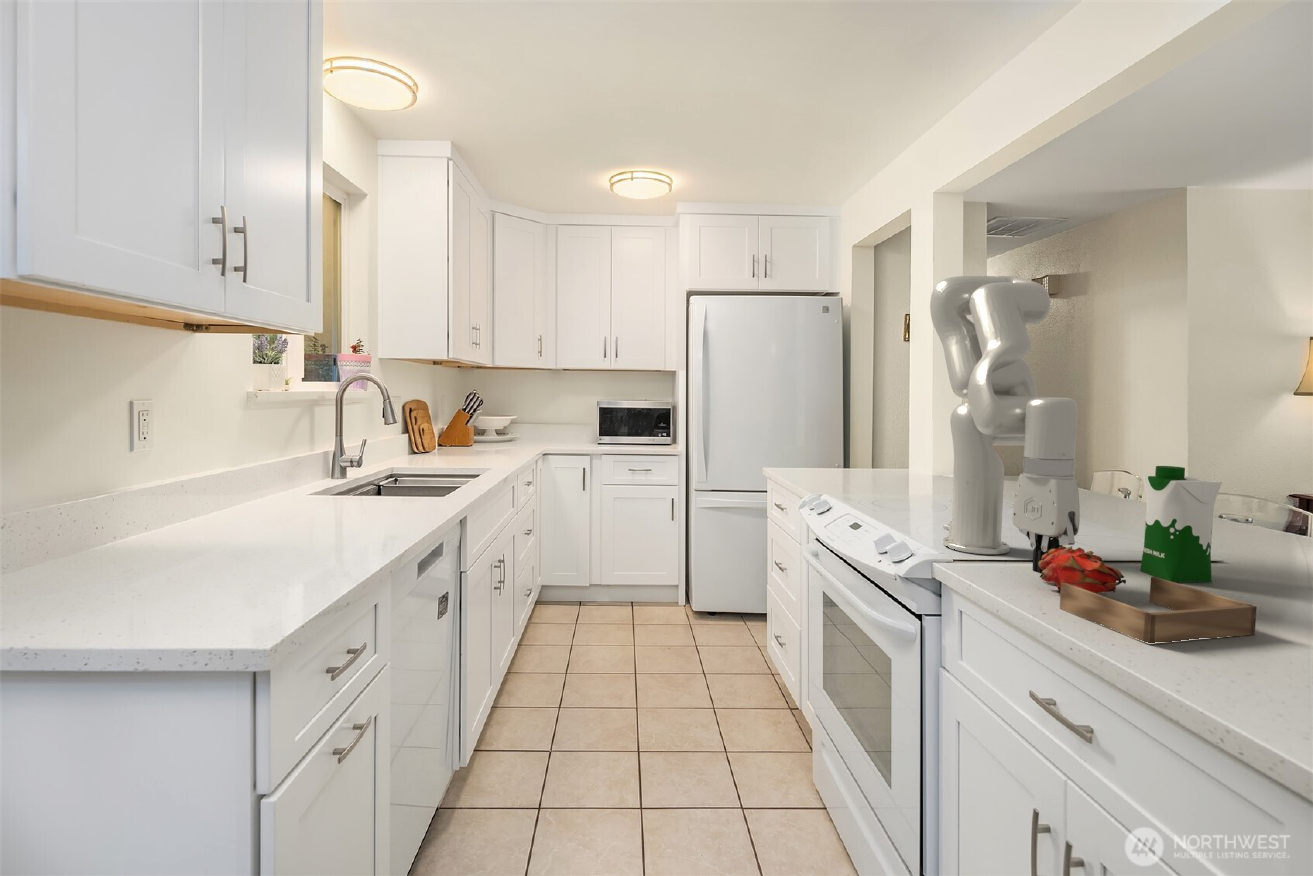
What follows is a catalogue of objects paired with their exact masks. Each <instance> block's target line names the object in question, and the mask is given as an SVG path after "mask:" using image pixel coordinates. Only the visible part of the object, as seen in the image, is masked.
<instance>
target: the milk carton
mask: <svg viewBox="0 0 1313 876" xmlns="http://www.w3.org/2000/svg"><path fill="white" fill-rule="evenodd" d="M1142 481H1143V484H1144V490H1145V496H1146V509H1145V525H1144V542H1143V551H1142V556H1141V563H1140V572H1142V573H1146V574H1147V575H1148V574H1149V575H1151V576H1152V577H1156V576H1157V577H1158V578H1161V579H1165V580H1168V581H1171V582H1175V583H1205V582H1211V583H1213V581H1212V576H1213V575H1212V558H1211V557H1212V556H1211V553H1212V552H1211V551H1212V538H1213V537H1212V536H1213V524H1214V523H1213V522H1214V510H1215V509H1214V508H1215V504H1216V503H1215V502H1216V500H1217V497H1218V494H1219V491H1220V489H1221V486H1222V481H1215V480H1210V479H1204V478H1196V477H1191V476H1186V468H1185V467H1183V466H1176V465H1175V466H1171V465H1157V466H1155V475H1143V476H1142Z"/></svg>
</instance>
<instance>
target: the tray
mask: <svg viewBox="0 0 1313 876" xmlns="http://www.w3.org/2000/svg"><path fill="white" fill-rule="evenodd" d="M1149 584H1150V585H1149V586H1150V587H1149V600H1148V601H1150V602H1149V603H1152V602H1153V603H1152V604H1155V605H1158V604H1160V605H1159V606H1161V605H1162V607H1164V608H1167V607H1169V608H1168V609H1170V608H1171V610H1167V611H1154V612H1153V611H1152V612H1149V611H1145V610H1143V609H1141V608H1138V607H1135V606H1132V605H1129V604H1128V603H1124V602H1121V601H1118V600H1116V599H1112V598H1109V597H1108V596H1104V595H1101V594H1099V593H1093V592H1090V591H1087V590H1084V589H1082V588H1079V587H1076V586H1073V585H1070V584H1068V583H1061V591H1060V598H1059V610H1062V611H1065V612H1067V613H1070V614H1072V615H1074V614H1075V616H1077V617H1079V618H1082V619H1084V618H1086V619H1085V620H1087V619H1088V620H1087V621H1089V620H1090V621H1089V622H1091V621H1093V622H1092V623H1094V622H1096V623H1098V624H1097V625H1099V624H1102V625H1104V626H1106V627H1108V628H1107V629H1109V628H1112V629H1114V630H1115V631H1114V632H1116V631H1119V632H1122V633H1123V634H1125V635H1124V636H1126V635H1129V636H1131V637H1133V638H1137V639H1139V640H1142V641H1144V642H1148V643H1155V642H1172V641H1181V640H1189V639H1199V638H1217V637H1227V636H1231V637H1230V638H1233V637H1232V636H1240V637H1244V636H1243V635H1250V636H1255V635H1256V620H1257V608H1258V606H1257V605H1252V604H1250V603H1246V602H1243V601H1239V600H1236V599H1232V598H1228V597H1225V596H1223V595H1218V594H1215V593H1212V592H1209V591H1205V590H1201V589H1198V588H1195V587H1191V586H1187V585H1185V584H1181V583H1179V582H1171V581H1168V580H1165V579H1161V578H1159V577H1156V576H1151V577H1150V583H1149ZM1096 623H1095V624H1096ZM1104 626H1103V627H1104ZM1106 627H1105V628H1106ZM1123 634H1122V635H1123ZM1131 637H1130V638H1131ZM1133 638H1132V639H1133Z"/></svg>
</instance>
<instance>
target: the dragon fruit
mask: <svg viewBox="0 0 1313 876" xmlns="http://www.w3.org/2000/svg"><path fill="white" fill-rule="evenodd" d="M1038 564H1039V567H1040V568H1041V569H1042V570H1043V571H1042V572H1041V573H1042V574H1040V575H1039V578H1040V579H1041V580H1043V581H1044V582H1045V583H1046V582H1047V583H1054V584H1055V585H1056V586H1057V589H1058V591H1059V592H1061V583H1068V584H1070V585H1073V586H1076V587H1079V588H1082V589H1084V590H1087V591H1090V592H1093V593H1096V594H1099V593H1100V594H1101V593H1103V594H1104V593H1111V592H1112V593H1114V594H1115V593H1116V591H1117V586H1119V585H1121V584H1122V583H1123V584H1124V585H1126V583H1127V580H1126V579H1124V578H1125V576H1124V575H1123V573H1122V572H1121V571H1120V569H1117V568H1115V567H1112V566H1110V565H1107V564H1105V562H1104V560H1103V558H1102V557H1101V556H1098V555H1096V554H1094V551H1093V550H1089V551H1086V552H1085V549H1084V548H1082V547H1077V548H1076V549H1073V545H1070V546H1068V547H1066V546H1065V545H1063V546H1059V549H1050V550H1049V552H1048V553H1046V554H1044V555H1043V556H1042V558H1041V560H1040V561H1039V562H1038Z"/></svg>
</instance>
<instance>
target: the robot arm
mask: <svg viewBox="0 0 1313 876" xmlns="http://www.w3.org/2000/svg"><path fill="white" fill-rule="evenodd" d="M1050 309H1051V297H1050V294H1049V292H1048V290H1047V289H1046V288H1045V287H1044V286H1043V285H1042V284H1041V283H1039V282H1036V281H1033V280H1028V279H1024V278H1020V277H1017V276H1012V275H1011V276H1010V275H958V276H952V277H948V278H945V279H942V280H940V281H939V282H938V283H936V285H935V286H934V288H933V289H932V292H931V296H930V303H929V310H930V318H931V321H932V324H933V327H934V330H935V332H936V333H937V336H938V337H939V340H940V343H941V345H942V348H943V353H944V358H945V364H946V368H947V374H948V379H949V383H950V387H951V389H952V392H953V393H954V395H955V396H957V397H959V398H960V399H968V400H967V401H963V402H961V403H959V404H958V405H956V407H955V408H953V410H952V412H951V415H950V421H949V422H950V431H951V436H952V446H953V478H952V479H953V480H952V482H953V484H952V503H951V504H952V507H951V508H952V509H951V521H950V522H948V523H944V524H943V527H942V528H943V530H945V531H948V536H946V537H943V539H942V544H943V546H944V547H946V546H948V547H949V549H951V550H954V549H955V551H959V552H963V553H967V554H977V555H1002V554H1003V555H1004V554H1007V553H1009V552H1010V545H1009V544H1008V543H1006V542H1004V541H1002V532H1003V531H1002V528H1003V510H1004V508H1003V507H1004V506H1003V505H1004V487H1005V468H1004V463H1003V461H1002V459H1001V457H1000V456H999V454H998V453H997V451H996V450H995V448H994V446H995V447H996V446H1023V447H1024V448H1023V460H1022V461H1021V462H1022V463H1021V464H1022V467H1023V470H1022V473H1020V474H1019V476H1018V479H1017V483H1016V486H1015V492H1014V500H1013V508H1012V525H1014V527H1015V528H1017V529H1018V531H1019V533H1021V535H1024V536H1026V538H1028V541H1029V545H1030V548H1031V549H1033V550H1032V551H1033V552H1032V553H1033V554H1032V571H1033V572H1035V573H1038V574H1040V575H1041V574H1042V573H1041V572H1042V571H1043V570H1042V569H1041V568H1040V567H1039V564H1038V562H1039V561H1040V560H1041V558H1042V556H1043V555H1044V554H1046V553H1048V552H1049V550H1050V549H1059V546H1074V545H1075V544H1076V540H1075V536H1077V535H1078V533H1079V529H1080V521H1081V519H1080V517H1081V515H1080V513H1081V507H1080V504H1081V503H1080V496H1079V495H1080V492H1079V485H1078V480H1077V478H1075V477H1076V476H1075V474H1076V449H1077V435H1078V434H1077V431H1078V430H1077V429H1078V415H1079V414H1078V413H1079V412H1078V410H1079V409H1078V403H1077V402H1076V400H1075V399H1073V398H1070V397H1046V396H1039V393H1038V389H1037V386H1036V381H1035V378H1034V374H1033V370H1032V369H1031V367H1030V365H1029V364H1028V362H1027V361H1026V360H1024V358H1026V356H1028V354H1029V353H1030V352H1031V349H1032V342H1031V337H1030V335H1029V332H1028V330H1027V326H1028V325H1032V326H1033V325H1038V324H1040V323H1041V322H1043V321H1044V320H1045V319H1046V318H1047V317H1048V315H1049V313H1050ZM967 316H971V317H972V321H971V320H970V319H969V318H968V317H967ZM1026 325H1027V326H1026ZM948 547H947V548H948Z"/></svg>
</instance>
